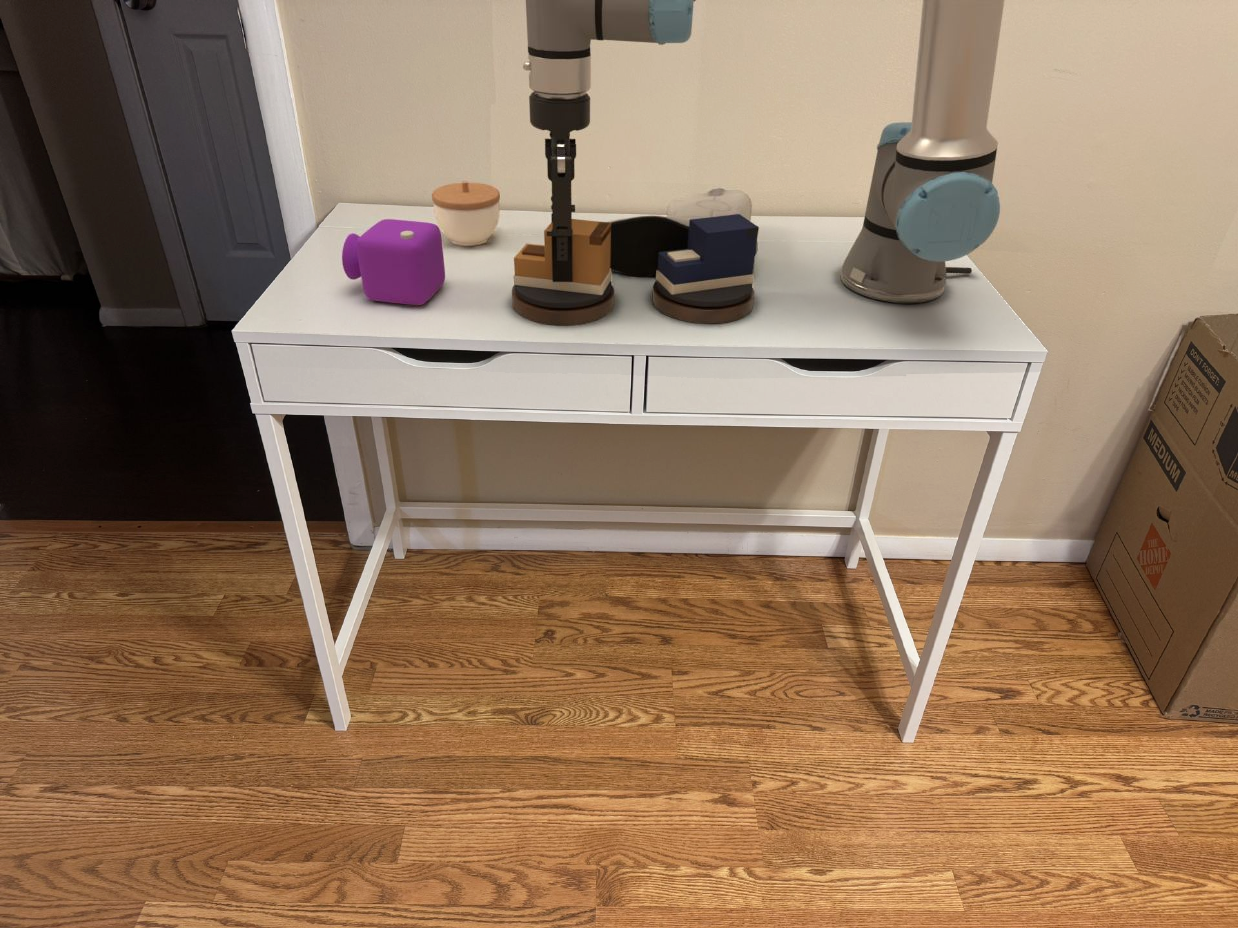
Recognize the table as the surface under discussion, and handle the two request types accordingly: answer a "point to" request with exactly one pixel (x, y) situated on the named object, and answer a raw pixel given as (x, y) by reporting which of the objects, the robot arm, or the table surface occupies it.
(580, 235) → the tan sneaker
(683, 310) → the turntable base
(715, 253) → the navy and black piece
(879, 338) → the table surface
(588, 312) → the turntable base
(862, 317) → the table surface
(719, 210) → the cowboy boot
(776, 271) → the table surface
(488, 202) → the trinket box
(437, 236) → the toy camera
